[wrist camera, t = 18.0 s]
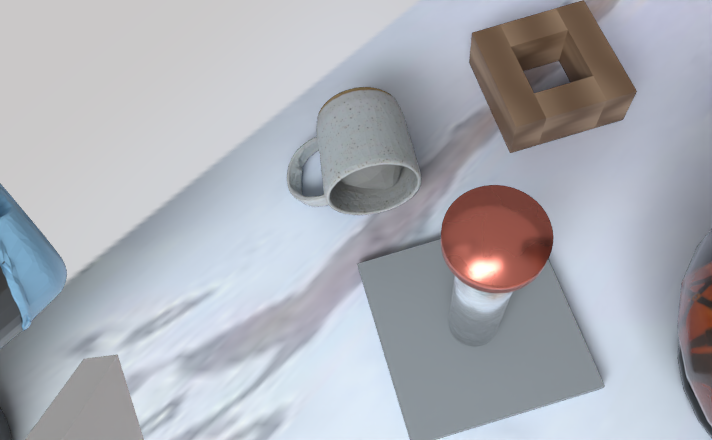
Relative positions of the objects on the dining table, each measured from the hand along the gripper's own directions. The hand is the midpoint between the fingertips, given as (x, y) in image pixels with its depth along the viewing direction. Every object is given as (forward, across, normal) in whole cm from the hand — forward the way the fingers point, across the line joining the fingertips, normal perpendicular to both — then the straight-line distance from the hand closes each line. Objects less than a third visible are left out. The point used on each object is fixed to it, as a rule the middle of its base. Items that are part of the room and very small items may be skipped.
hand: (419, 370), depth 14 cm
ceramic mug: (+41, -3, -7) cm, 41 cm away
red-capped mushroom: (+30, +5, -16) cm, 34 cm away
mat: (+31, +5, -17) cm, 35 cm away
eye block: (+45, +15, -3) cm, 47 cm away
